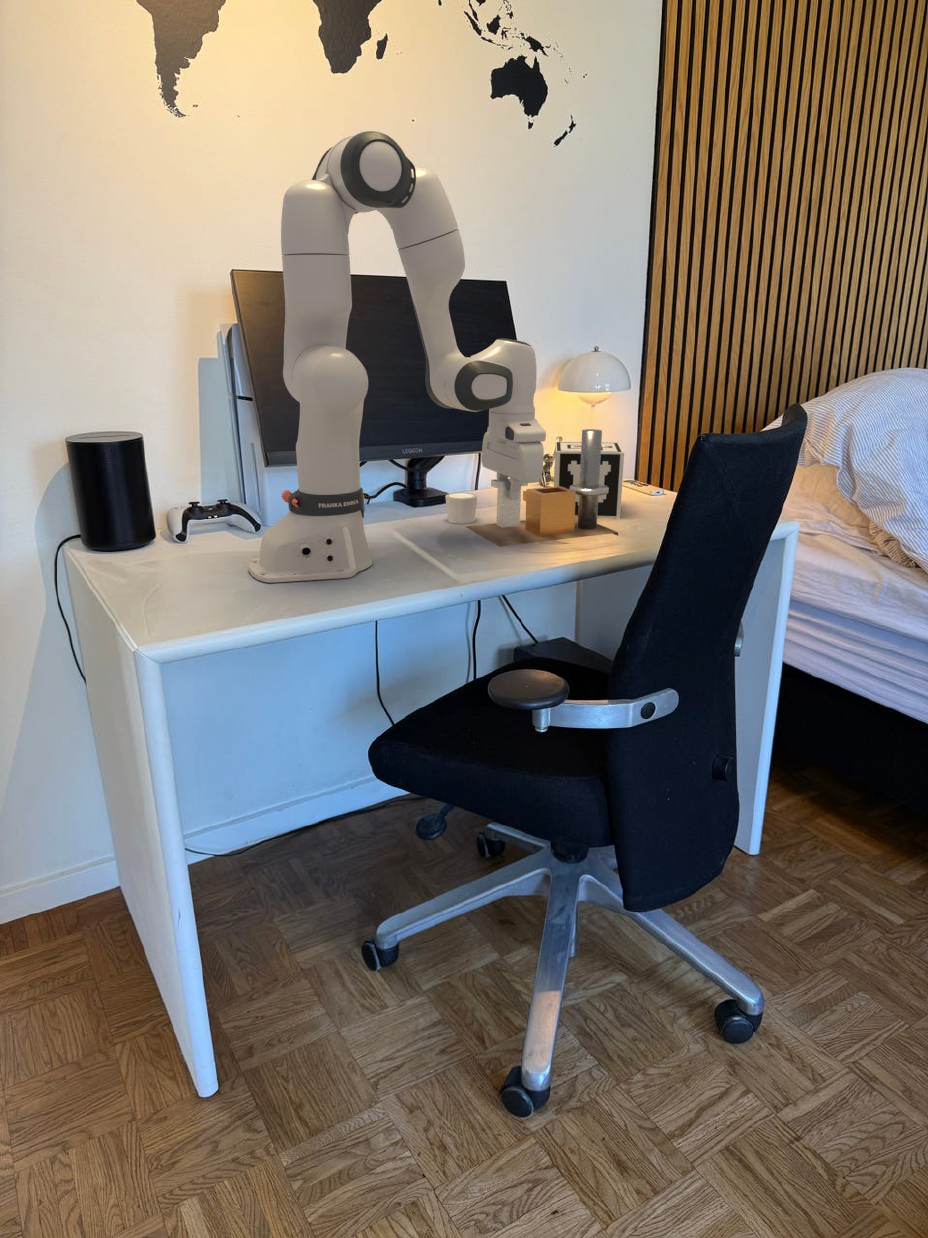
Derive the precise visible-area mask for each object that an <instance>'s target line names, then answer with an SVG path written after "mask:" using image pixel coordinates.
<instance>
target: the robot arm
mask: <svg viewBox="0 0 928 1238" xmlns="http://www.w3.org/2000/svg"><path fill="white" fill-rule="evenodd" d="M282 200H283V202H282V207H281V208H282V210H281V220H280V221H281V223H280V224H281V225H280V247H281V259H282V260H281V262H282V276H283V277H282V278H283V289H284V291H283V292H284V306H285V313H284V314H285V316H284V332H283V334H284V335H283V336H284V337H283V368H282V377H283V382H284V384H285V387H286V389H287V391H288V393H289V394H290V395H291V397H292V398H293V399H294V400H296V401H297V402H298V403H299V422H298V423H299V424H298V434H297V441H296V443H295V452H296V455H295V456H296V468H297V469H296V470H297V471H296V472H297V482H298V484H297V485H298V489H297V490H295V491H294V492H292V491H291V490H288V489H287V490H283V491H282V493H281V499H282V500H283V501H284V503H287V504H288V511H289V512H287V513H286V514H285V515H284V516H283V517H281V518H280V519H279V520H278V521H277V522H276V523H274V524H273V525H272V526H271V527H269V528H268V529H267V530H266V531H265V532H264V533H263V535H262V538H261V543H260V549H259V557H255V558H252V559H251V560H250V561H249V562H248V572H249V574H250V575H251V576H252V577H253V578H254V579H256V580H258V581H261V582H264V583H268V584H269V583H285V582H287V583H288V582H299V581H300V582H302V581H316V580H320V581H321V580H332V579H333V580H334V579H348V578H352V577H354V576H356V574H358V572H361V571H364V570H366V569H368V568H369V567H370V566H372V564H373V562H374V561H373V559H372V555H371V553H370V549H369V546H368V542H367V541H368V540H367V536H366V531H365V525H364V517H365V495H364V488H362V487H361V470H360V469H361V468H360V436H361V430H362V421H363V412H364V402H365V398H366V396H367V394H368V391H369V390H368V389H369V377H368V373H367V370H366V368H365V366H364V365H363V364H362V362H361V361H360V360H359V358H357V356H356V355H355V354H354V353H353V352H351V351H350V350H348V349H346V348H347V346H346V344H347V336H348V335H347V334H348V329H349V328H348V327H349V320H350V314H351V312H352V307H353V300H352V299H353V296H352V277H351V276H352V275H351V260H350V259H351V255H350V245H349V243H350V242H349V231H350V225H351V221H352V218H353V217H354V215H357V214H359V213H362V214H363V213H370V212H374V211H377V212H379V213H380V214H381V215H382V216H383V217H384V218H385V220H386V222H387V223H388V225H389V227H390V229H392V234H393V238H394V241H395V245H396V249H397V251H398V255H399V257H400V261H401V264H402V267H403V270H404V273H405V277H406V280H407V283H408V287H409V291H410V296H411V301H412V306H413V311H414V314H415V319H416V321H417V327H418V330H419V331H418V332H419V336H420V338H421V339H420V340H421V343H422V346H423V350H424V351H423V352H424V355H425V357H424V358H425V375H424V376H425V377H424V379H425V381H424V383H425V388H426V392H427V394H428V396H429V397H430V400H431V401H433V402H434V403H435V404H436V405H437V406H439V407H442V408H445V409H457V410H461V411H468V412H474V413H476V412H481V411H486V410H489V411H488V426H487V431H486V432H485V433H484V435H483V439H482V449H481V458H480V459H481V464H482V467H483V468H485V469H487V470H489V471H493V472H495V473H496V479H510V483H511V487H510V490H508V499H510V500H518V499H519V491H520V488H521V489H522V487H523V486H522V484H523V483H528V484H533V483H536V484H537V483H539V482H540V480H541V478H542V476H543V469H544V468H543V467H544V455H545V454H544V453H545V450H544V445H543V442H545V441H546V439H547V432H546V430H545V428H543V426H542V425H541V424H540V422H538V420H537V418H536V408H535V404H534V398H535V394H536V389H537V358H536V353H535V350H534V347H533V346H532V345H531V344H530V343H527V342H525V341H522V340H517V339H510V338H502V337H501V338H497V339H496V340H495V341H494V342H493V343H492V344H491V345H489V346H488V347H487V348H485V349H483V350H482V351H480V352H478V353H476V354H473V355H470V357H467V356H464V355H463V353H462V352H460V349H459V347H458V345H457V341H456V336H455V332H454V327H453V322H452V318H451V315H450V306H449V304H450V303H449V302H450V298H451V297H450V296H451V294H452V293H453V290H454V289H455V287H456V286H457V285H458V284H459V283H460V280H461V279H462V277H463V274H464V271H465V267H466V259H465V250H464V244H463V240H462V236H461V233H460V230H459V226H458V224H457V223H458V222H457V220H456V219H457V218H456V217H455V213H454V211H453V208H452V205H451V202H450V200H449V197H448V195H447V193H446V191H445V189H444V186H443V184H442V182H441V181H440V178H439V176H438V175H437V174H436V173H435V171H434V170H432V169H430V168H427V167H422V166H415V165H414V163H413V162H412V161H411V160H410V159H409V158H408V156H406V154H405V152H404V150H403V149H402V148H401V146H400V145H399V144H398V143H397V142H396V141H395V139H393V138H392V137H390V136H389V135H387V134H385V133H383V132H381V131H376V130H375V131H373V130H369V131H362V132H359V133H357V134H355V135H350V136H347V137H344V138H342V139H341V140H340V141H338V142H337V143H335V144H334V145H333V146H332V147H330V148H328V149H327V150H326V151H325V152H324V153H323V155H322V156H321V158H320V160H319V162H318V164H317V167H316V169H315V172H314V174H313V175H312V177H311V179H304V180H300V181H298V182H296V183H293V184H292V185H291V186H289V188H287V189H286V191H285V192H284V195H283V199H282Z"/></svg>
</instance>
